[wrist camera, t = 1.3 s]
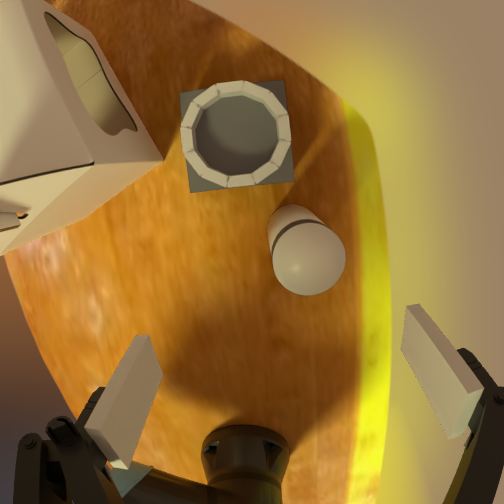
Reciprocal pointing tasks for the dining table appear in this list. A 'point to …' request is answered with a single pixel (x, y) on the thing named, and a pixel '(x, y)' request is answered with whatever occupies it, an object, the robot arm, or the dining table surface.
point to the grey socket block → (236, 135)
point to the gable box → (60, 125)
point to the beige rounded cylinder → (304, 251)
